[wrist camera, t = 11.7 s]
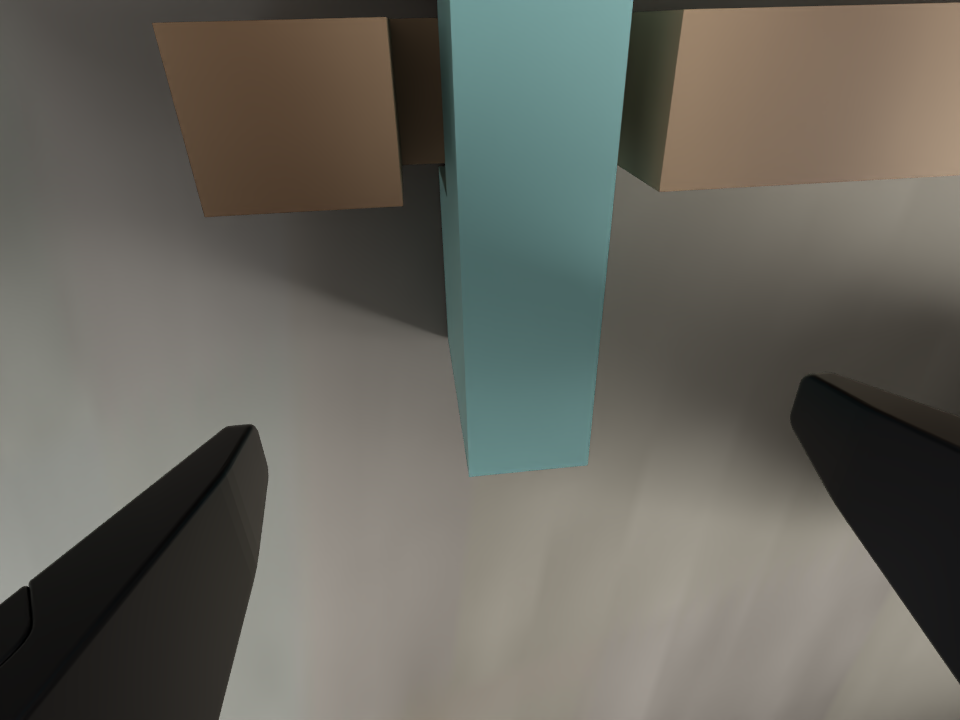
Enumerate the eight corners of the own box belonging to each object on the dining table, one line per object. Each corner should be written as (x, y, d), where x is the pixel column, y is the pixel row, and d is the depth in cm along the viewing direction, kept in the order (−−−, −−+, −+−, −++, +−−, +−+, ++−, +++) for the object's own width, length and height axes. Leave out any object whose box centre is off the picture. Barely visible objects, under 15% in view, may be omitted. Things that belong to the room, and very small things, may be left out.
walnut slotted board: (1080, 2, 14) (1464, -11, 9) (1032, 111, 16) (1346, 153, 10) (255, 23, 12) (152, 22, 7) (278, 144, 14) (204, 216, 9)
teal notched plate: (531, 332, 17) (587, 465, 12) (448, 339, 17) (469, 476, 12) (550, -376, 10) (711, -797, 5) (408, -381, 10) (415, -830, 5)
